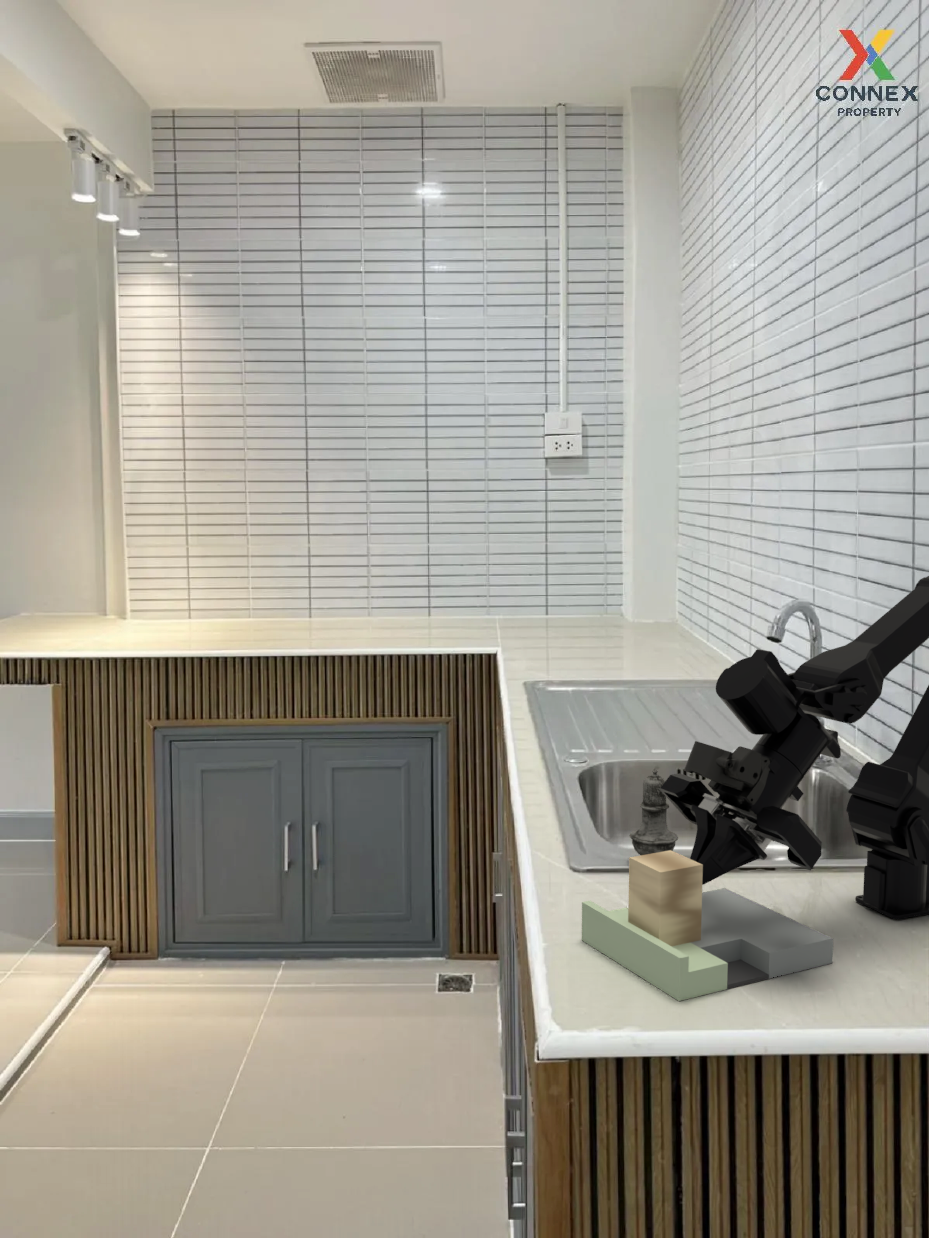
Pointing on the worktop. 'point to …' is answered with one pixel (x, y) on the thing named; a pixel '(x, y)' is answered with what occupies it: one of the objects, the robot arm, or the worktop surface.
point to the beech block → (666, 896)
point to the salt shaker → (653, 820)
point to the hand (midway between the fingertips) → (688, 885)
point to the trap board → (710, 946)
